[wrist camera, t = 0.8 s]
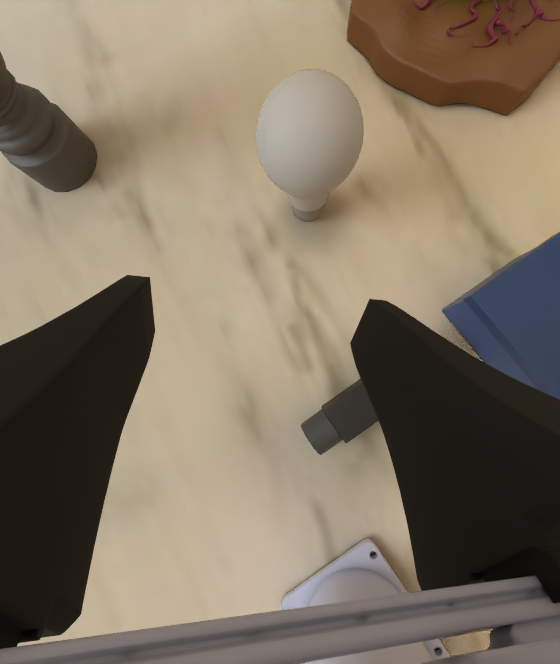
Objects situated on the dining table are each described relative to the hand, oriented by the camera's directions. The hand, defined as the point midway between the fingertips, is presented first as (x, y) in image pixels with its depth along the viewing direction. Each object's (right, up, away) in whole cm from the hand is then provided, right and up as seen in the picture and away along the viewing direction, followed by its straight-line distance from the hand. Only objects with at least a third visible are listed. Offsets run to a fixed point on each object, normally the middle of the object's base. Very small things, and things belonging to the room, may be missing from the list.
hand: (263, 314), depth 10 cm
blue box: (+19, -1, +12) cm, 23 cm away
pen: (+8, -5, +13) cm, 16 cm away
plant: (+17, +28, +16) cm, 36 cm away
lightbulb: (+3, +10, +15) cm, 18 cm away
